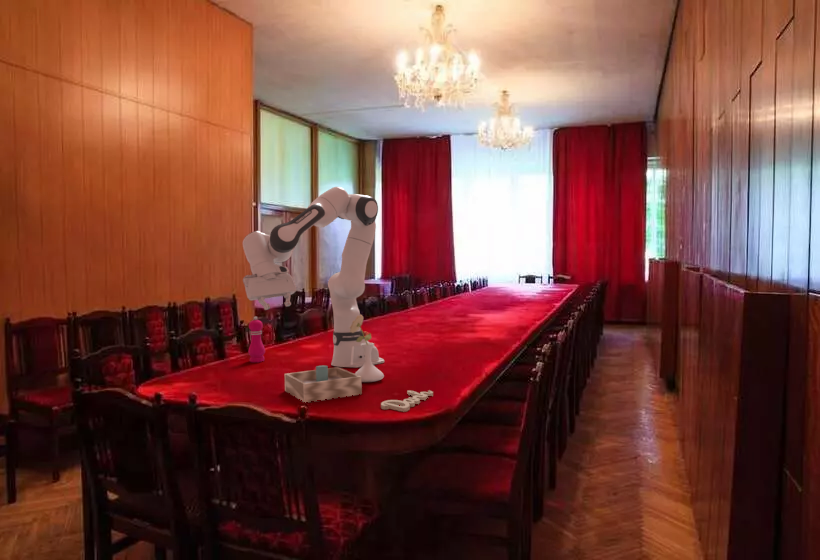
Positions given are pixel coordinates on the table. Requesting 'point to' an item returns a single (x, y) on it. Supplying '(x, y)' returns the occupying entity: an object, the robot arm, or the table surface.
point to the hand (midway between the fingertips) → (278, 307)
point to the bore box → (323, 385)
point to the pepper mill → (256, 341)
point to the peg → (321, 373)
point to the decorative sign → (406, 401)
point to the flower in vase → (366, 355)
